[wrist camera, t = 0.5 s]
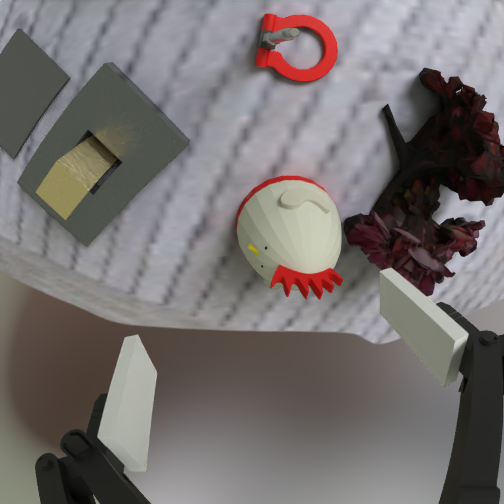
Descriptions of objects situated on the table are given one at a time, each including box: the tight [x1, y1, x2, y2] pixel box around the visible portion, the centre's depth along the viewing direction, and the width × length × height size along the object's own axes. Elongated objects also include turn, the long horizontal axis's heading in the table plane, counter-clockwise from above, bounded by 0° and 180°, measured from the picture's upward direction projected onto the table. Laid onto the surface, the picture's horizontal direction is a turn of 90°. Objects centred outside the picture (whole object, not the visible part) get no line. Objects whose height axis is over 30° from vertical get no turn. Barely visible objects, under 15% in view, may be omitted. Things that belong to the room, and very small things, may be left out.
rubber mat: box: [0, 29, 70, 159], centre depth 28 cm, size 14×12×1 cm
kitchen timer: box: [236, 176, 343, 300], centre depth 37 cm, size 14×14×15 cm
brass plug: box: [36, 135, 118, 220], centre depth 31 cm, size 4×4×11 cm
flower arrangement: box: [344, 68, 504, 297], centre depth 35 cm, size 31×20×15 cm, turn 166°
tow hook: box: [255, 14, 338, 82], centre depth 25 cm, size 8×13×9 cm
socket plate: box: [17, 62, 190, 247], centre depth 34 cm, size 20×14×2 cm
